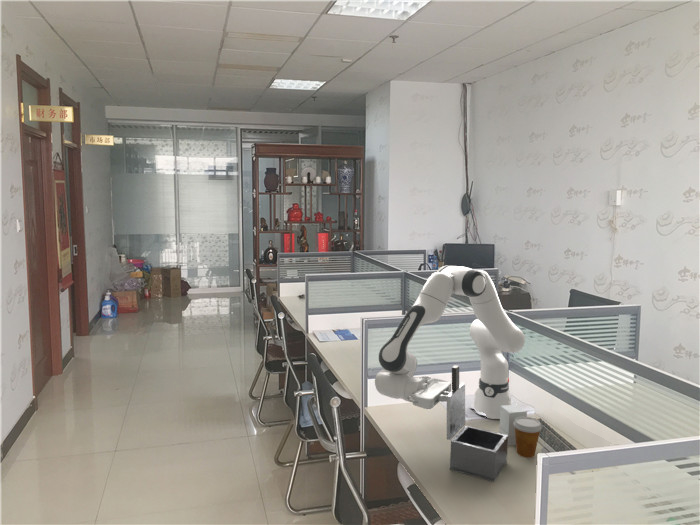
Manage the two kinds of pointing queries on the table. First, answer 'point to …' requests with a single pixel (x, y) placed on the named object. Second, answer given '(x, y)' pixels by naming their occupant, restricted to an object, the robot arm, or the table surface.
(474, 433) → the open gray square box
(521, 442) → the disposable coffee cup
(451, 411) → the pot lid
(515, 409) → the supplement box
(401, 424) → the table surface
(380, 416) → the table surface
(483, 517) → the table surface
